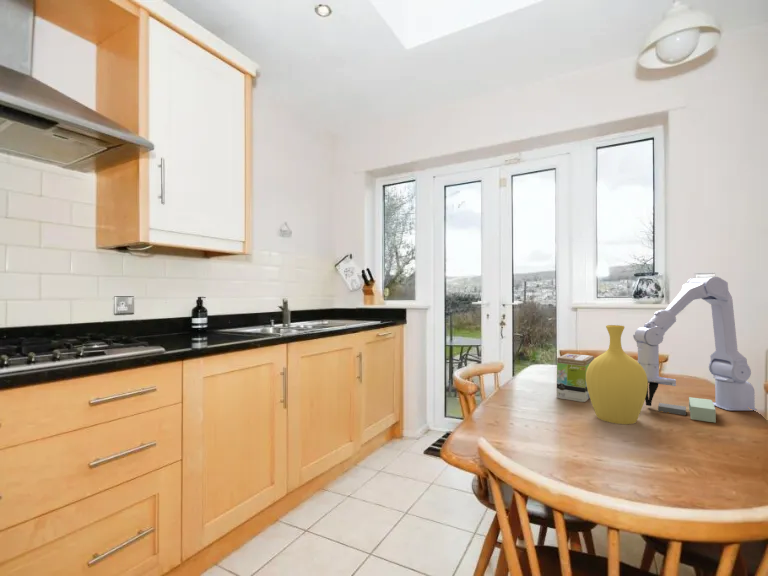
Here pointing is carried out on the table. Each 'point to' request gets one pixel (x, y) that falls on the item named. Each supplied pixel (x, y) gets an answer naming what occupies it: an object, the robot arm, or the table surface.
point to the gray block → (672, 408)
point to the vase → (616, 382)
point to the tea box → (573, 377)
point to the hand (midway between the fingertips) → (648, 404)
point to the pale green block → (702, 409)
